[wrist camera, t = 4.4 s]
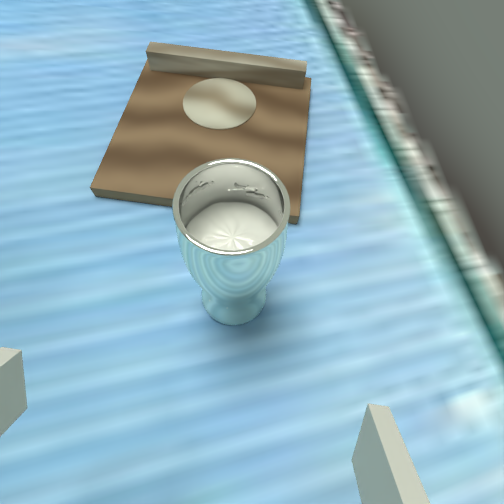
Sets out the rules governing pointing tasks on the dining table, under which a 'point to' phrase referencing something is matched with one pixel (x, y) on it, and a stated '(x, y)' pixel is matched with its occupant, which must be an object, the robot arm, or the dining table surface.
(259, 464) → the dining table surface
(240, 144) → the walnut board
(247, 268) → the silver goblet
